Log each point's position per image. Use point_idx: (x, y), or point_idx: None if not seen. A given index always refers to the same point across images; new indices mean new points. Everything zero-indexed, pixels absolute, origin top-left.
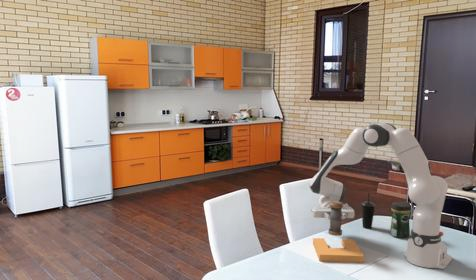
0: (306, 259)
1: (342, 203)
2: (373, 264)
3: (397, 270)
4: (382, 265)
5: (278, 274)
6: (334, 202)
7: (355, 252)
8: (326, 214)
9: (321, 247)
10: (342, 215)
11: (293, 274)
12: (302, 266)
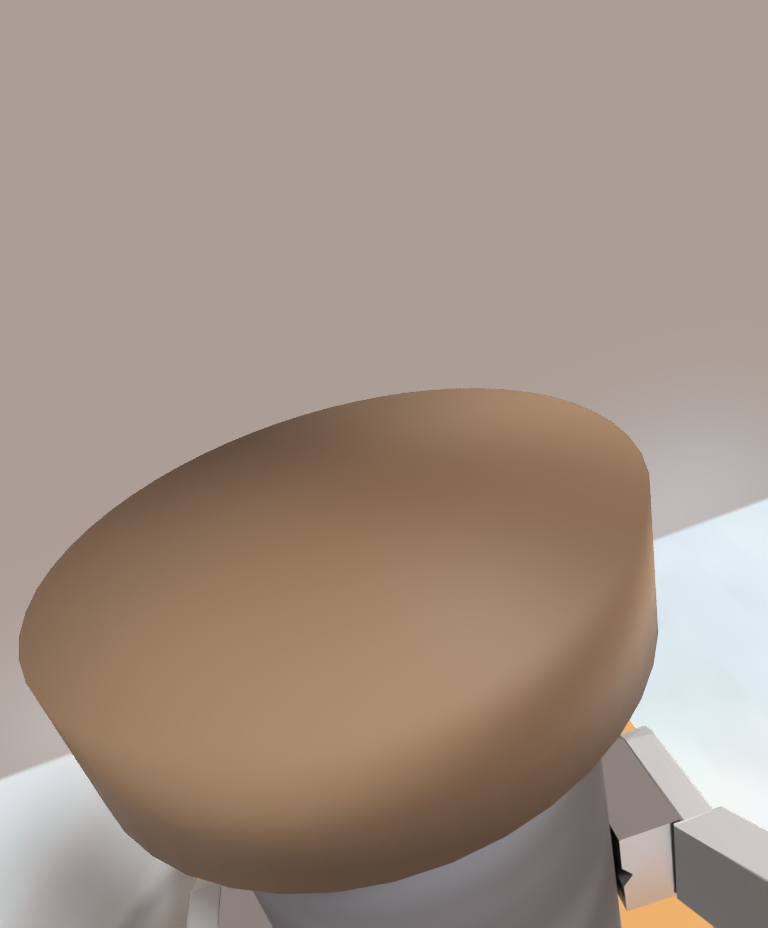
0: (754, 739)
1: (81, 560)
2: (151, 876)
3: (17, 831)
4: (80, 885)
5: (764, 508)
6: (411, 529)
7: None
8: (758, 826)
9: (699, 924)
10: (236, 916)
11: (687, 537)
12: (701, 624)
